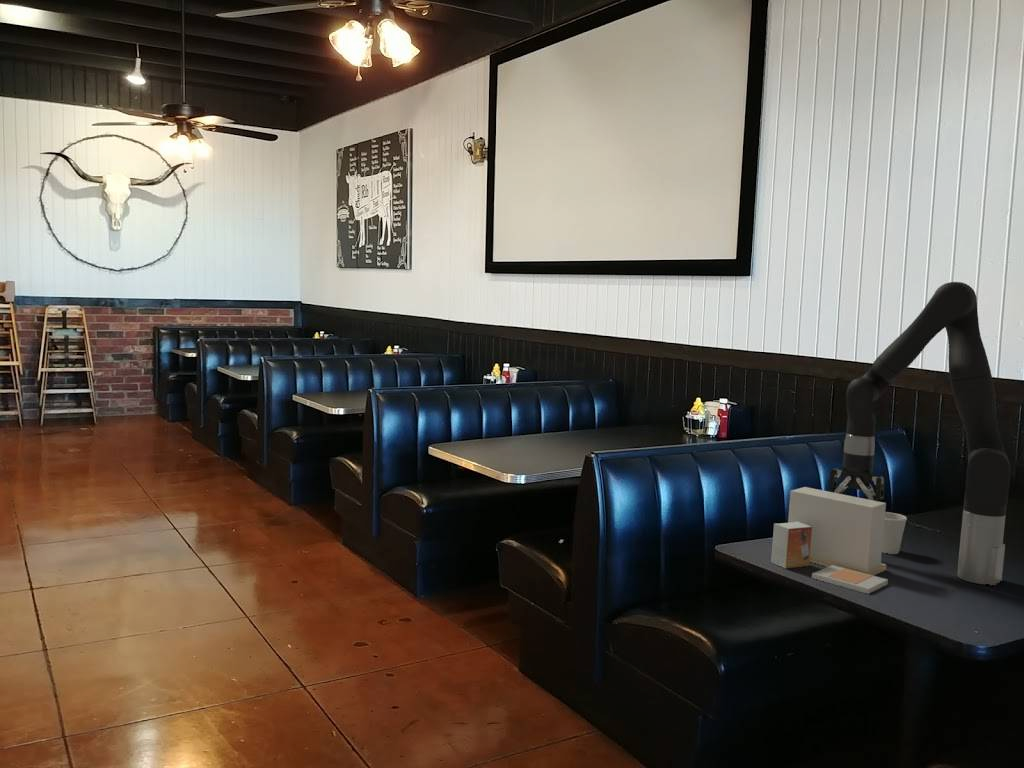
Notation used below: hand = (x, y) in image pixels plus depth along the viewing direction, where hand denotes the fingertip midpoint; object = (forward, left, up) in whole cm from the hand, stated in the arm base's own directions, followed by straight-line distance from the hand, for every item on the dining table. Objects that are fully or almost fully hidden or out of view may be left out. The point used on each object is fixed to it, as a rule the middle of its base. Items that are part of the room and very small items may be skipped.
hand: (854, 510), depth 231 cm
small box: (+6, +22, -12) cm, 26 cm away
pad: (-10, +22, -12) cm, 27 cm away
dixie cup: (-5, -12, -12) cm, 18 cm away
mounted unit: (0, +11, -12) cm, 16 cm away
